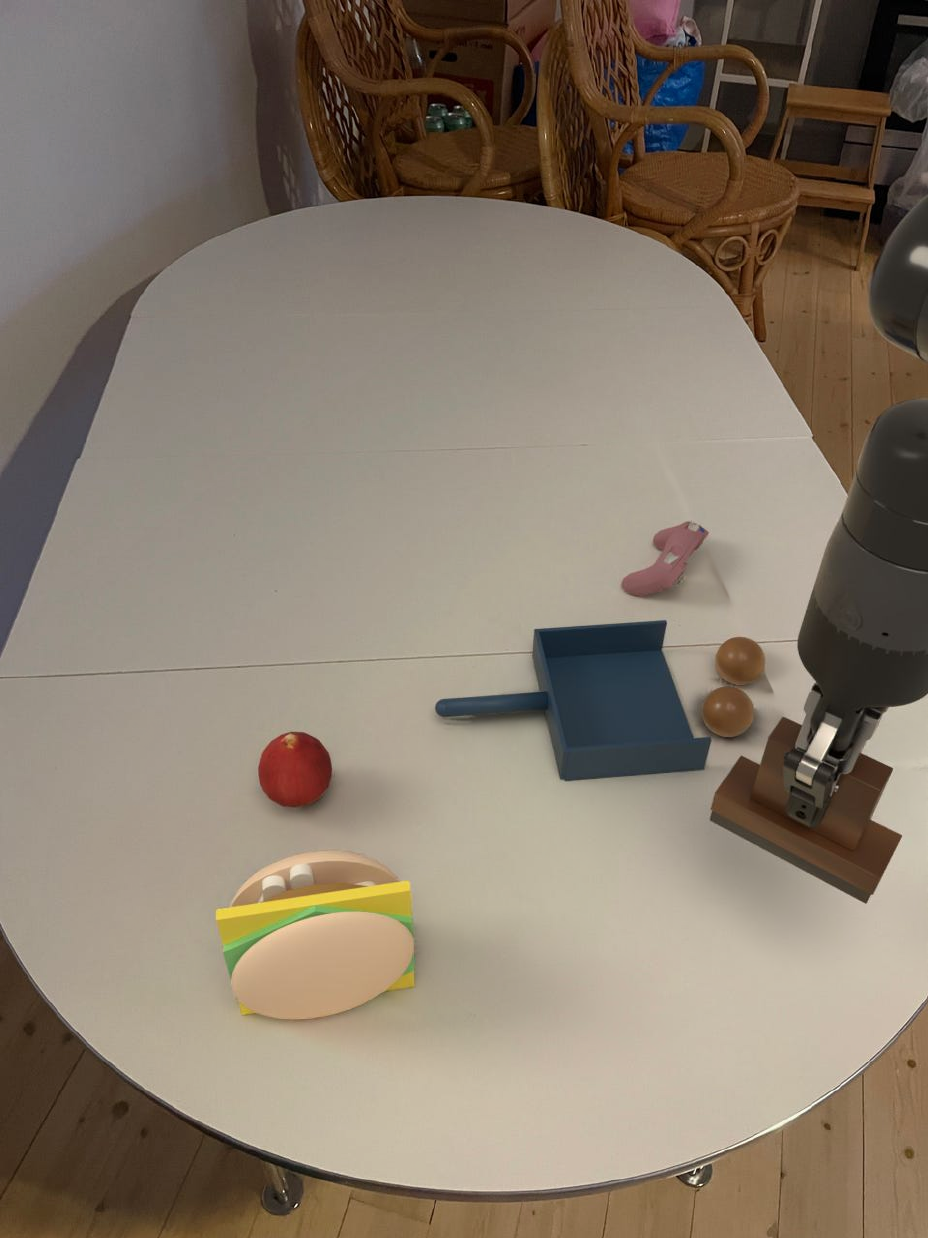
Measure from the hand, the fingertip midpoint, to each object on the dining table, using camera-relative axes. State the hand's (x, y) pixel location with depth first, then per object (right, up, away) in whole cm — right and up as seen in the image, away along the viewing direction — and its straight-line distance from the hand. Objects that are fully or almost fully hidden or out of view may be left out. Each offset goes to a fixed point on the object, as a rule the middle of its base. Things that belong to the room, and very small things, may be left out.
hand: (811, 803), depth 66 cm
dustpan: (-13, +3, +27) cm, 30 cm away
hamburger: (-32, -14, +8) cm, 36 cm away
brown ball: (+3, +8, +29) cm, 30 cm away
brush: (0, -3, +3) cm, 4 cm away
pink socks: (-1, +16, +42) cm, 45 cm away
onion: (-35, -3, +20) cm, 41 cm away
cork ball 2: (+1, +4, +25) cm, 25 cm away
